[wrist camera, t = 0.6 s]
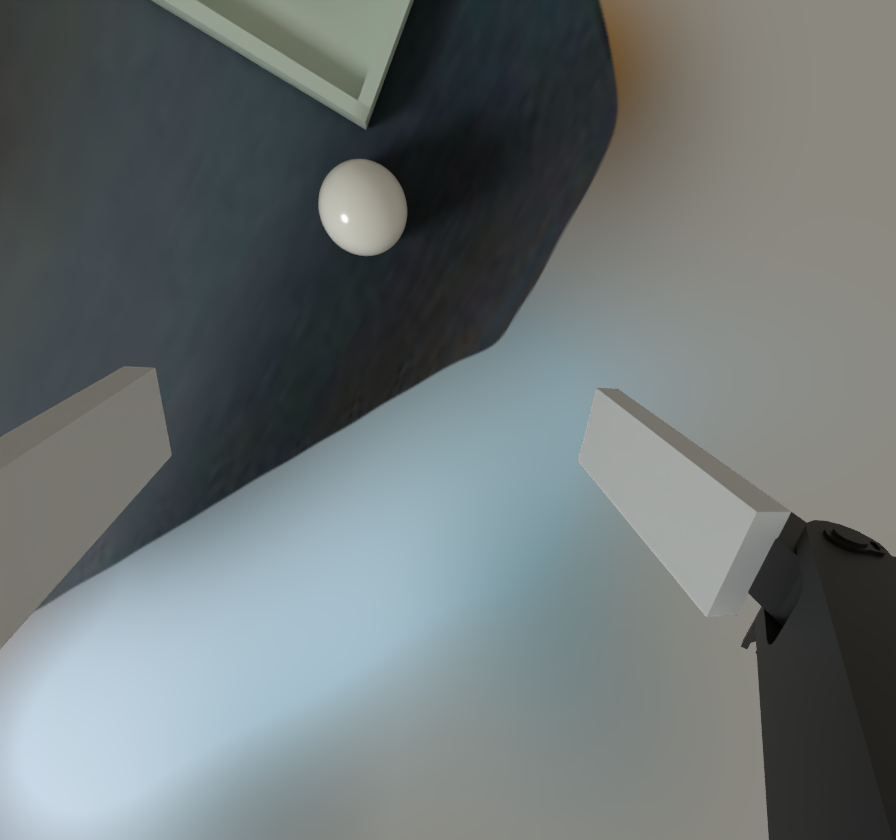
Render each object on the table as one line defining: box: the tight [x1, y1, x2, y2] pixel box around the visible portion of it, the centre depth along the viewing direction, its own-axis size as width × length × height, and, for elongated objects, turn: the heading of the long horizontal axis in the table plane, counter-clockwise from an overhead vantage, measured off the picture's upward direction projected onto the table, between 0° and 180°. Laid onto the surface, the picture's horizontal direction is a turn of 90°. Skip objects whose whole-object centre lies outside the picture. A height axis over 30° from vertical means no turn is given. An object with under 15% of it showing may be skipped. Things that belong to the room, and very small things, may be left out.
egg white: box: [318, 159, 407, 256], centre depth 27 cm, size 5×5×8 cm
